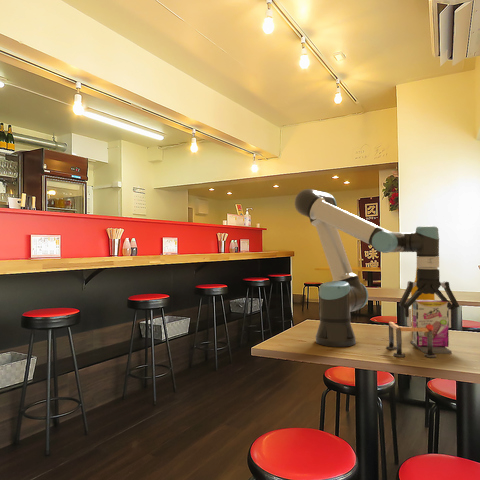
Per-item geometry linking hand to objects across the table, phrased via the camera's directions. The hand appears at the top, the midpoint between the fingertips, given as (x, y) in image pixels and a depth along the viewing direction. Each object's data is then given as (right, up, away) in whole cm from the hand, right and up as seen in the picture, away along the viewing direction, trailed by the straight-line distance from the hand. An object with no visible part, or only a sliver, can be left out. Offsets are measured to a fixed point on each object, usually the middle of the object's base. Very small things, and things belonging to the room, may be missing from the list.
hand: (428, 326), depth 143 cm
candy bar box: (+1, -7, 0) cm, 7 cm away
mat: (0, -8, 0) cm, 8 cm away
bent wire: (-9, -8, -6) cm, 14 cm away
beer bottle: (+11, -9, +27) cm, 30 cm away
